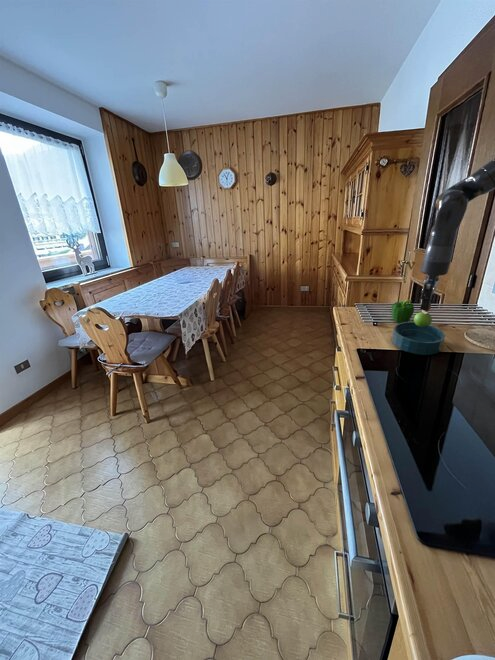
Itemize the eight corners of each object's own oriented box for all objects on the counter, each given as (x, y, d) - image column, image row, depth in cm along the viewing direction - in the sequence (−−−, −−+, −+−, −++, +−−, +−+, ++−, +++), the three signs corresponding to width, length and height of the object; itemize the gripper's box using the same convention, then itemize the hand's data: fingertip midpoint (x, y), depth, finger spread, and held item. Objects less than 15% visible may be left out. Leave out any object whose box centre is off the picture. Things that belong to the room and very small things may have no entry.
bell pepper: (385, 321, 124) (389, 299, 119) (395, 315, 128) (399, 294, 124) (405, 327, 118) (410, 305, 113) (414, 321, 122) (419, 299, 118)
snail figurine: (424, 321, 105) (432, 290, 99) (432, 329, 99) (441, 297, 93) (408, 321, 105) (415, 291, 100) (416, 329, 100) (424, 298, 94)
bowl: (443, 340, 107) (447, 328, 104) (437, 361, 96) (441, 347, 93) (397, 330, 116) (399, 318, 113) (386, 348, 105) (389, 335, 102)
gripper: (448, 265, 84) (434, 316, 92) (453, 254, 94) (440, 301, 101) (419, 262, 88) (408, 311, 96) (427, 252, 98) (416, 298, 106)
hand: (425, 306), depth 99 cm, fingers closed on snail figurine, 5 cm apart
